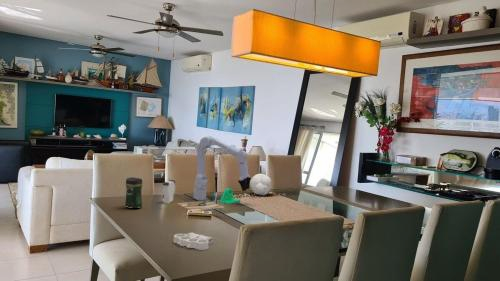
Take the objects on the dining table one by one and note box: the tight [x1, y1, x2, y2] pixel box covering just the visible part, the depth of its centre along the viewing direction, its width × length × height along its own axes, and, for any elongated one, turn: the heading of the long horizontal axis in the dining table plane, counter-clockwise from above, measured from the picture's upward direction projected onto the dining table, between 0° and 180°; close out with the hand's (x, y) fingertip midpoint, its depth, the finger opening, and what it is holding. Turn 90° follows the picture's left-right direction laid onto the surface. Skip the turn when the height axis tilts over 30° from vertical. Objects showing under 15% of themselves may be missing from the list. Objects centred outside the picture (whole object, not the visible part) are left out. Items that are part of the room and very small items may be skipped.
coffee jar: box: [124, 177, 143, 208], centre depth 234 cm, size 10×8×19 cm
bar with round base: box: [186, 200, 206, 206], centre depth 241 cm, size 5×12×2 cm, turn 125°
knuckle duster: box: [173, 232, 214, 251], centre depth 173 cm, size 3×18×15 cm
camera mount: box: [219, 187, 241, 205], centre depth 256 cm, size 12×8×10 cm, turn 138°
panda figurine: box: [162, 179, 176, 204], centre depth 248 cm, size 12×11×15 cm
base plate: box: [176, 197, 223, 212], centre depth 242 cm, size 21×22×4 cm
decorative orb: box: [249, 173, 272, 196], centre depth 292 cm, size 20×18×16 cm
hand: (245, 189), depth 253 cm, fingers open, 7 cm apart
